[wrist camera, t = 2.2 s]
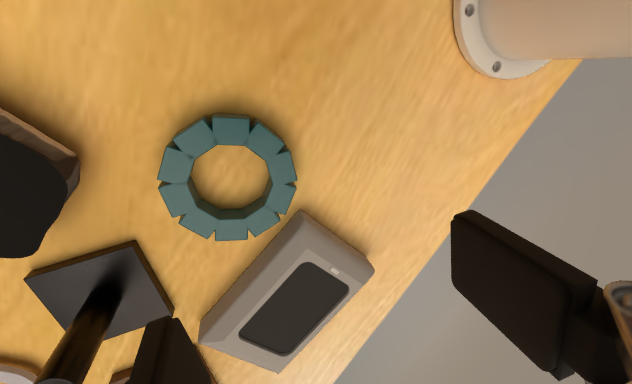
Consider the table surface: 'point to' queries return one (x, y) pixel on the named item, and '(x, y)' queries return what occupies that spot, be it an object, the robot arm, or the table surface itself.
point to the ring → (204, 215)
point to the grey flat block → (286, 295)
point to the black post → (96, 305)
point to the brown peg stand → (123, 376)
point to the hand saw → (16, 375)
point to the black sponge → (31, 185)
